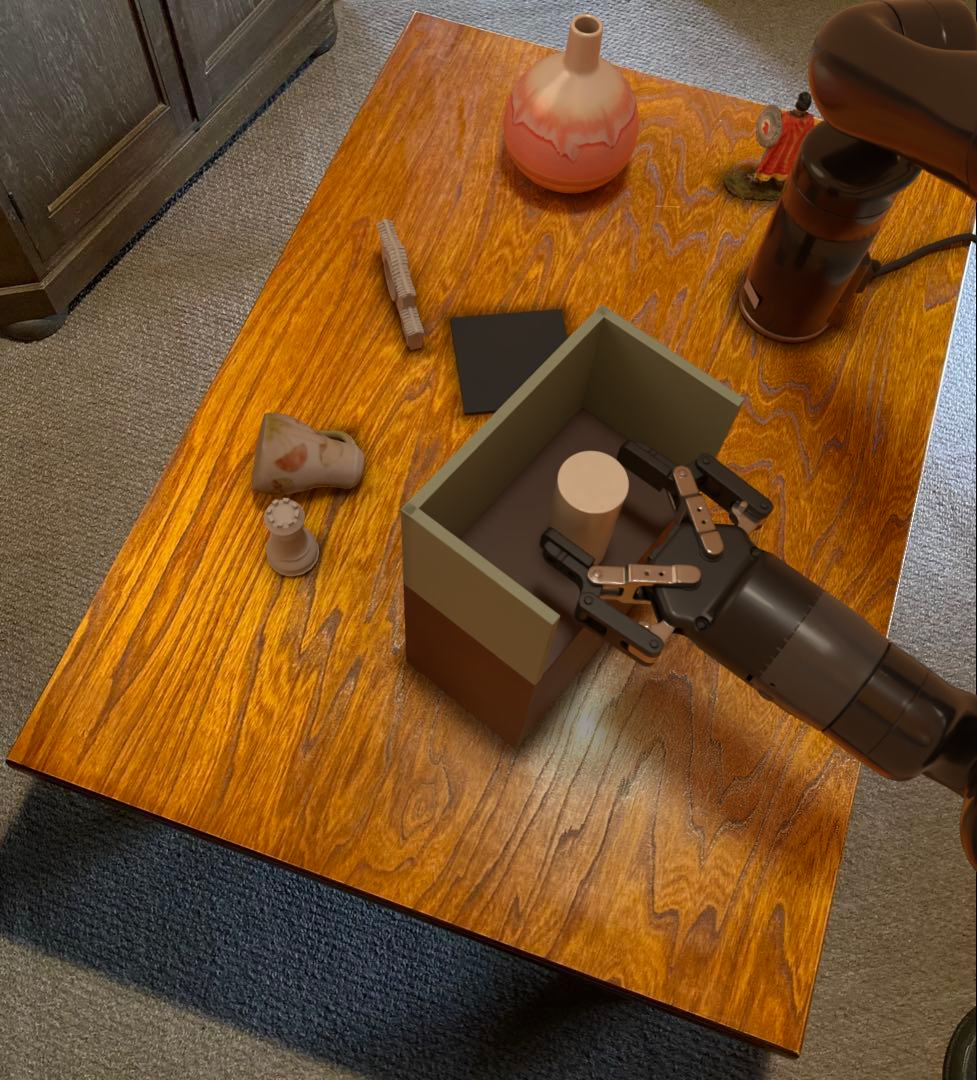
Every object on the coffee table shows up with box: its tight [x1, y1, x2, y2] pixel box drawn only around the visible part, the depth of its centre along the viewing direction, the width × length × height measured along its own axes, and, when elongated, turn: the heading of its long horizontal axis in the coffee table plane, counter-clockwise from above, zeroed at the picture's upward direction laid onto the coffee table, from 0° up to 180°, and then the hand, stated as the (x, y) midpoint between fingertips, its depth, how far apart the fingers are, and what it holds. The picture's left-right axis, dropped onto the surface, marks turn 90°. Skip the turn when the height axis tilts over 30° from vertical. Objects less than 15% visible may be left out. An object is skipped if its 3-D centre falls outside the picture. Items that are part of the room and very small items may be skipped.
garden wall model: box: [375, 218, 425, 351], centre depth 102 cm, size 12×2×6 cm, turn 16°
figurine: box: [723, 91, 815, 202], centre depth 109 cm, size 8×5×12 cm, turn 81°
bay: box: [400, 303, 746, 750], centre depth 79 cm, size 12×21×27 cm, turn 141°
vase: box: [502, 13, 640, 194], centre depth 106 cm, size 14×14×18 cm
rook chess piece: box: [263, 497, 320, 577], centre depth 89 cm, size 4×4×8 cm
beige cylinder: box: [545, 451, 629, 566], centre depth 73 cm, size 5×5×9 cm
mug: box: [251, 412, 366, 496], centre depth 94 cm, size 8×10×10 cm
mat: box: [449, 308, 569, 416], centre depth 103 cm, size 11×11×1 cm
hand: (583, 491), depth 71 cm, fingers open, 8 cm apart
